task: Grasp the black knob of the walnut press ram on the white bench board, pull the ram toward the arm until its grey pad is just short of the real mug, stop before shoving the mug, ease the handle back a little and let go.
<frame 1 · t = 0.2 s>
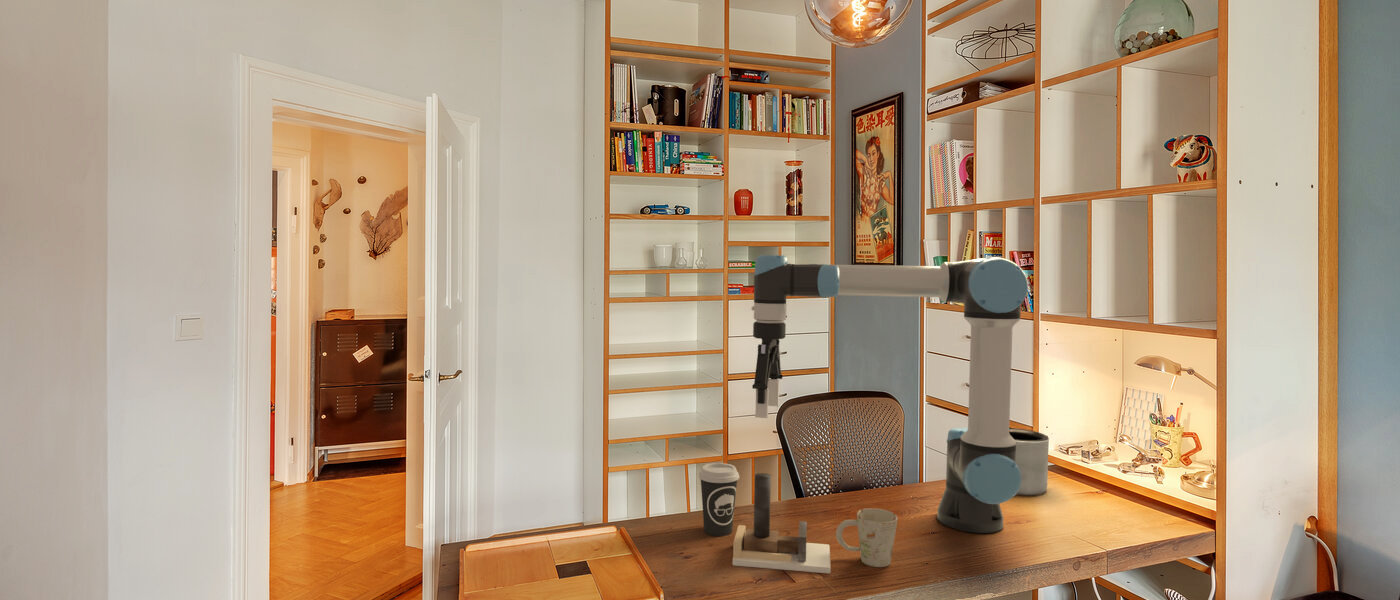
hand: (767, 411, 165), 28 cm above the table, fingers open, 13 cm apart
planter: (1015, 488, 200), on the table
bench: (782, 557, 150), on the table
mug: (865, 561, 149), on the table
coffee cup: (718, 531, 164), on the table
ram: (776, 513, 150), point 9 cm above the table, slide at 0.0 cm
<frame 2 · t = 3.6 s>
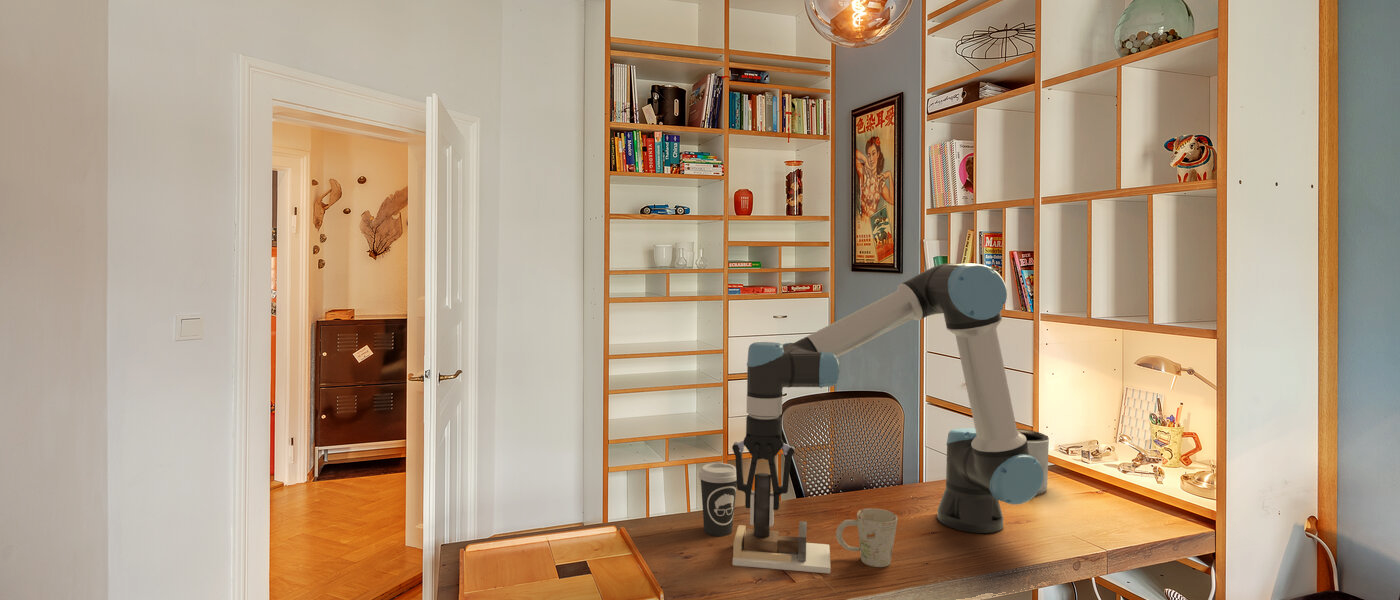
hand: (761, 523, 150), 7 cm above the table, fingers closed on ram, 3 cm apart
ram: (776, 513, 150), point 9 cm above the table, slide at 0.0 cm, touching gripper
everything else where it was.
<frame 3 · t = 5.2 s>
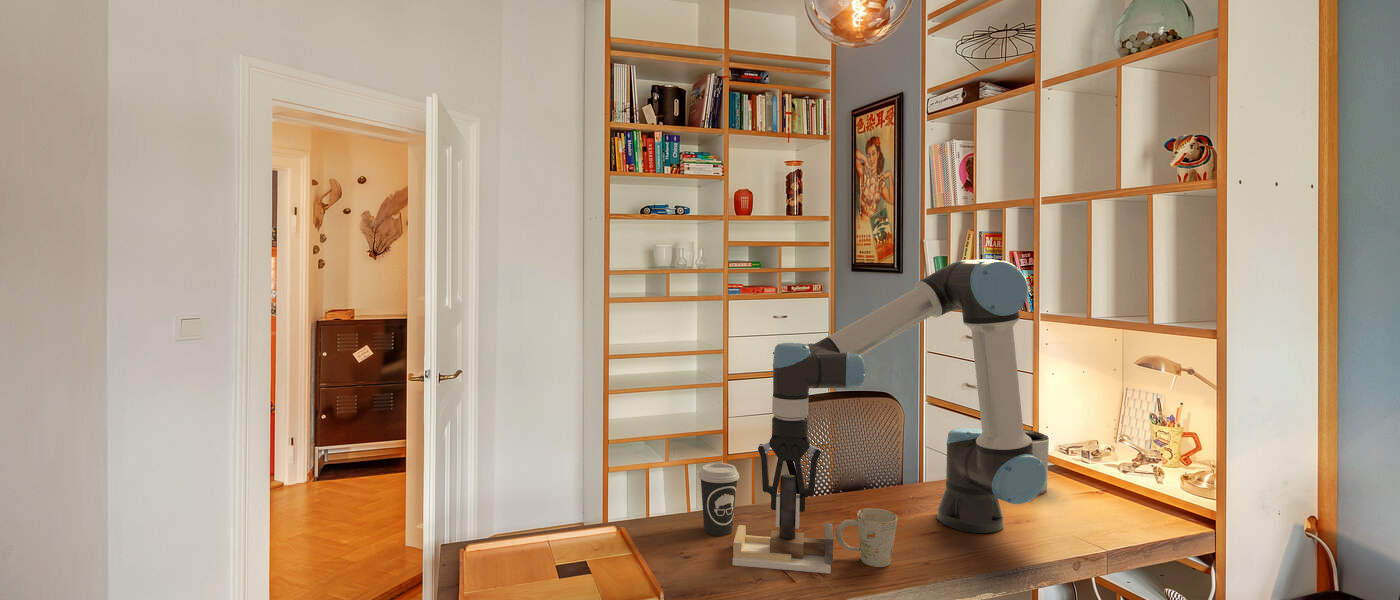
hand: (787, 525, 149), 7 cm above the table, fingers closed on ram, 3 cm apart
ram: (802, 515, 149), point 10 cm above the table, slide at 5.5 cm, touching gripper
everything else where it was.
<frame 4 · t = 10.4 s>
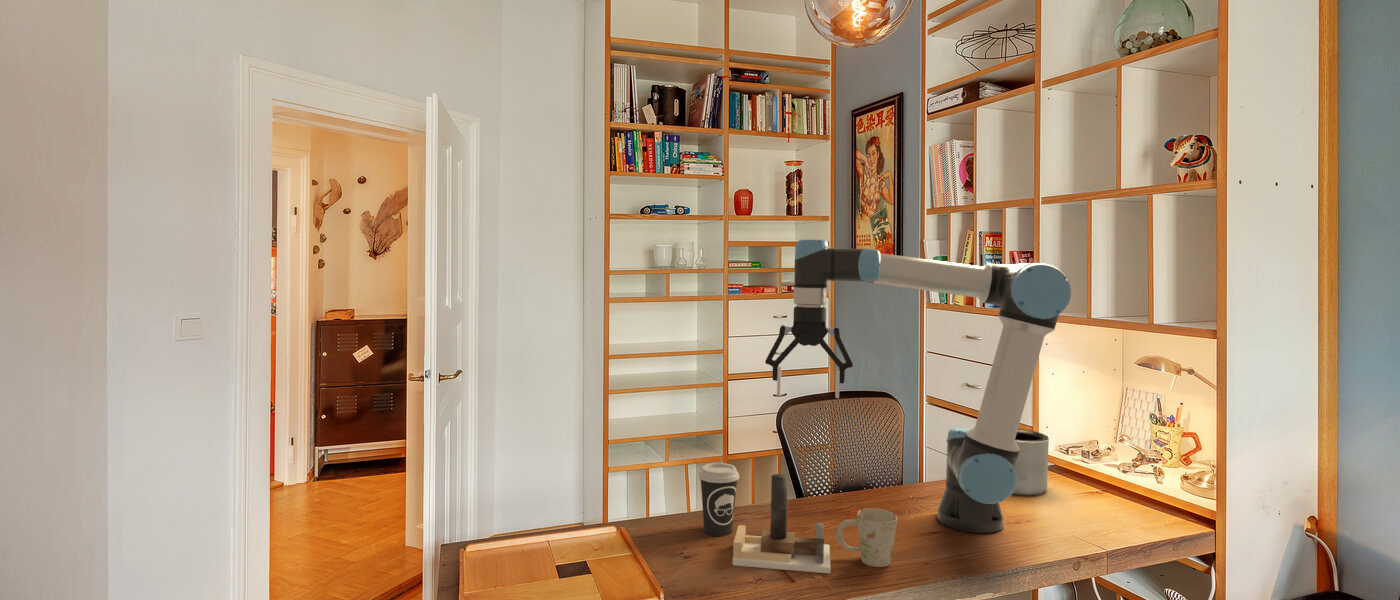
hand: (807, 395, 165), 32 cm above the table, fingers open, 13 cm apart
ram: (792, 514, 149), point 10 cm above the table, slide at 3.6 cm
everything else where it was.
at the end: ram slide at 3.6 cm; mug moved 0.2 cm from its start; mug tilted 0° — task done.
